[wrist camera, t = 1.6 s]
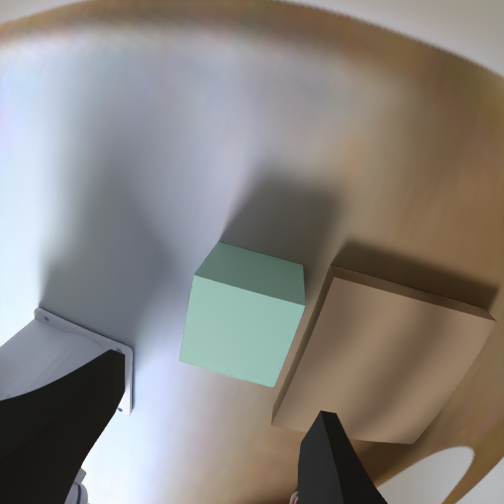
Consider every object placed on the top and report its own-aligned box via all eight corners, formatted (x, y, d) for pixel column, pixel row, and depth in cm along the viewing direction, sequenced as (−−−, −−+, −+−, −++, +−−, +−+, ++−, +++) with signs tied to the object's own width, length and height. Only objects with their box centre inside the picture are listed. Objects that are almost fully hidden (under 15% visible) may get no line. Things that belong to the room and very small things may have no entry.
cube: (202, 313, 20) (179, 360, 16) (218, 241, 19) (193, 275, 14) (278, 335, 20) (273, 387, 16) (302, 264, 19) (305, 306, 14)
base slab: (273, 408, 22) (271, 425, 21) (330, 264, 18) (334, 276, 17) (408, 428, 22) (413, 444, 20) (484, 308, 18) (496, 321, 16)
